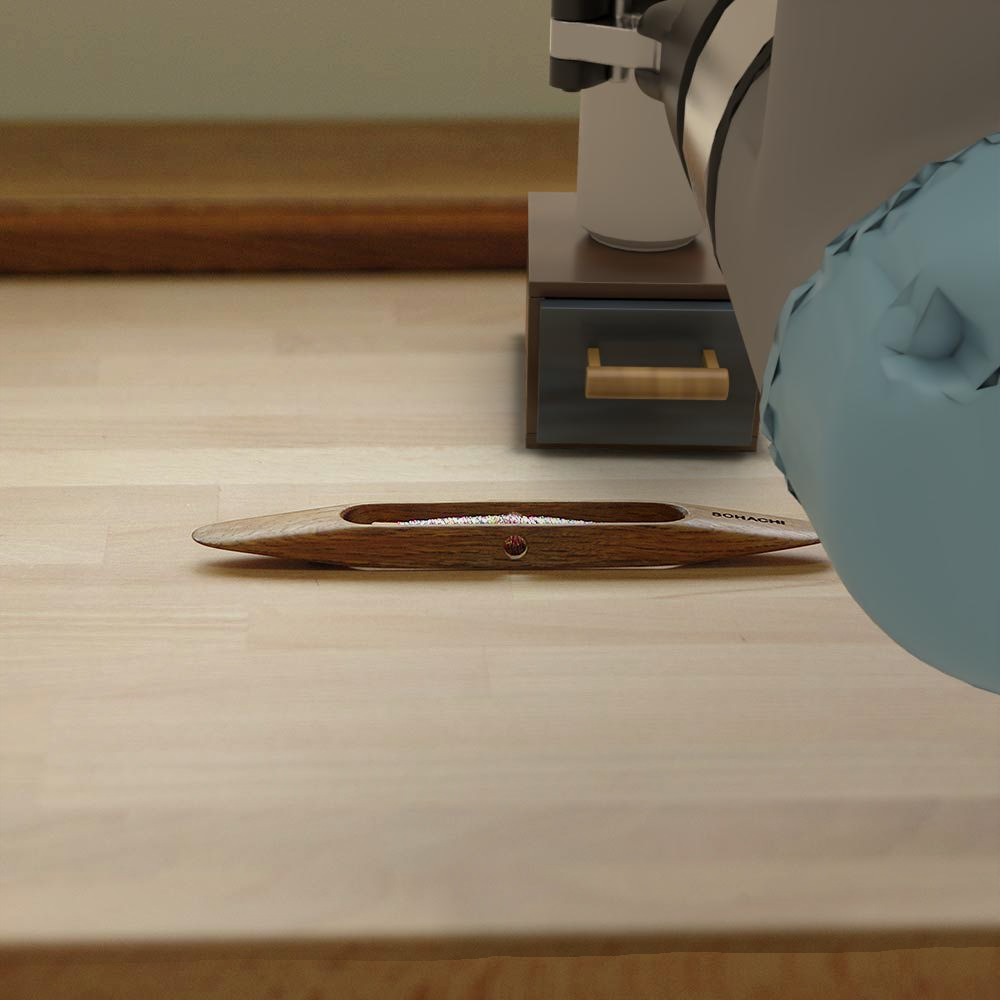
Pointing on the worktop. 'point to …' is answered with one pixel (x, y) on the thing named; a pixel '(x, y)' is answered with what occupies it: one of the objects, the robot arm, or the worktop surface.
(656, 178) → the can
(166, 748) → the worktop surface
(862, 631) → the worktop surface
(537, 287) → the cabinet
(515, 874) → the worktop surface
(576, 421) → the drawer
